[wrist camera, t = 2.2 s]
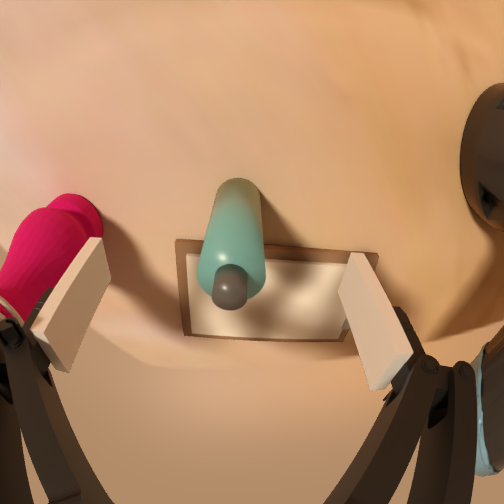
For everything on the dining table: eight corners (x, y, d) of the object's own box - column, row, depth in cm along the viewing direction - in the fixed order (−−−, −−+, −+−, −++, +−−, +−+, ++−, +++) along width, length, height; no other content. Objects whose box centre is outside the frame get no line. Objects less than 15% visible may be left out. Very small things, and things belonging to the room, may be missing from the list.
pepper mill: (115, 257, 25) (25, 460, 8) (57, 254, 25) (-39, 418, 8) (100, 185, 21) (-59, 395, 4) (39, 189, 21) (-103, 350, 4)
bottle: (262, 179, 21) (272, 270, 12) (257, 219, 23) (262, 325, 14) (216, 176, 21) (190, 265, 12) (215, 216, 23) (193, 320, 14)
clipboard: (380, 253, 25) (385, 261, 24) (344, 337, 32) (347, 346, 30) (176, 238, 24) (173, 247, 23) (184, 331, 31) (183, 340, 29)
